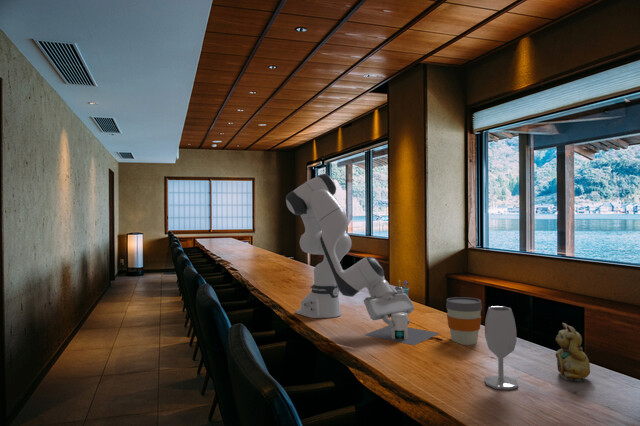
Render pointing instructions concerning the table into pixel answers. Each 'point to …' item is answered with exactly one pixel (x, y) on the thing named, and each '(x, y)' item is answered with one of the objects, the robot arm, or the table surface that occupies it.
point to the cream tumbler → (399, 324)
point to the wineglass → (500, 343)
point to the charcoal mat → (413, 336)
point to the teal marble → (399, 334)
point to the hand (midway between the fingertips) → (400, 325)
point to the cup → (404, 287)
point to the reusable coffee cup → (464, 319)
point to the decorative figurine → (571, 355)
